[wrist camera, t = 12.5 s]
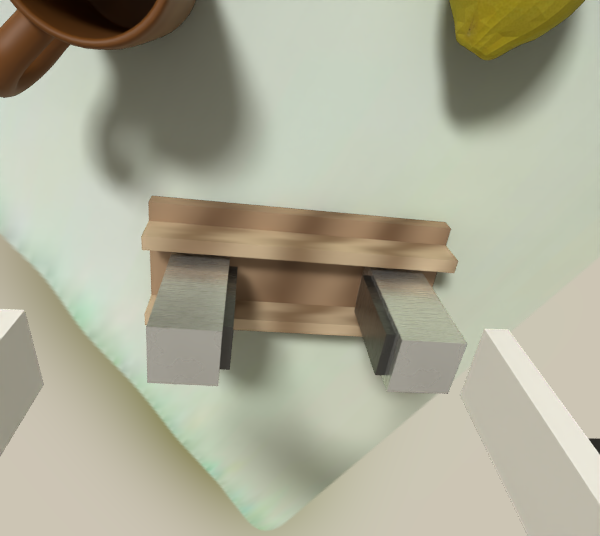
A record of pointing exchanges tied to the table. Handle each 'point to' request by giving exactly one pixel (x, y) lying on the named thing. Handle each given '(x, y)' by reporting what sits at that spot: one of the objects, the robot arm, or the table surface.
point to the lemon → (505, 22)
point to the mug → (77, 32)
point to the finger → (407, 331)
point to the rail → (292, 258)
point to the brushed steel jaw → (192, 321)
